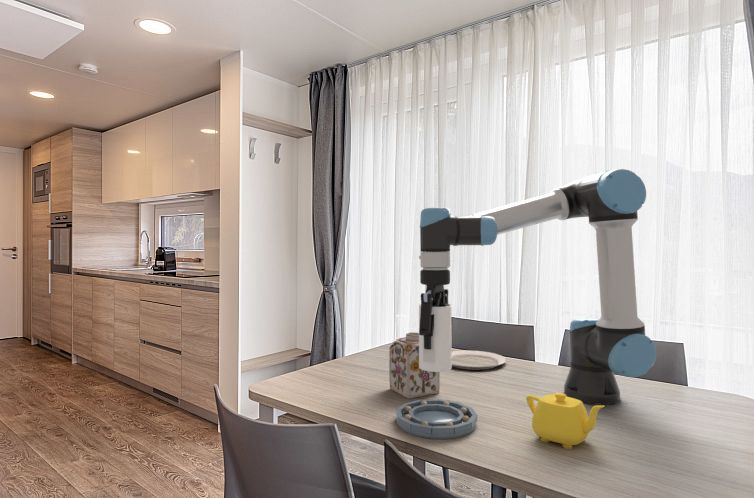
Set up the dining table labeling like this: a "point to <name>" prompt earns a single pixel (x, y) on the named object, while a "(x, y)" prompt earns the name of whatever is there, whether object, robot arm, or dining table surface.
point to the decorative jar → (410, 369)
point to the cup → (439, 341)
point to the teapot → (561, 419)
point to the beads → (464, 410)
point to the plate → (482, 354)
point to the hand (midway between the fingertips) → (435, 357)
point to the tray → (436, 419)
